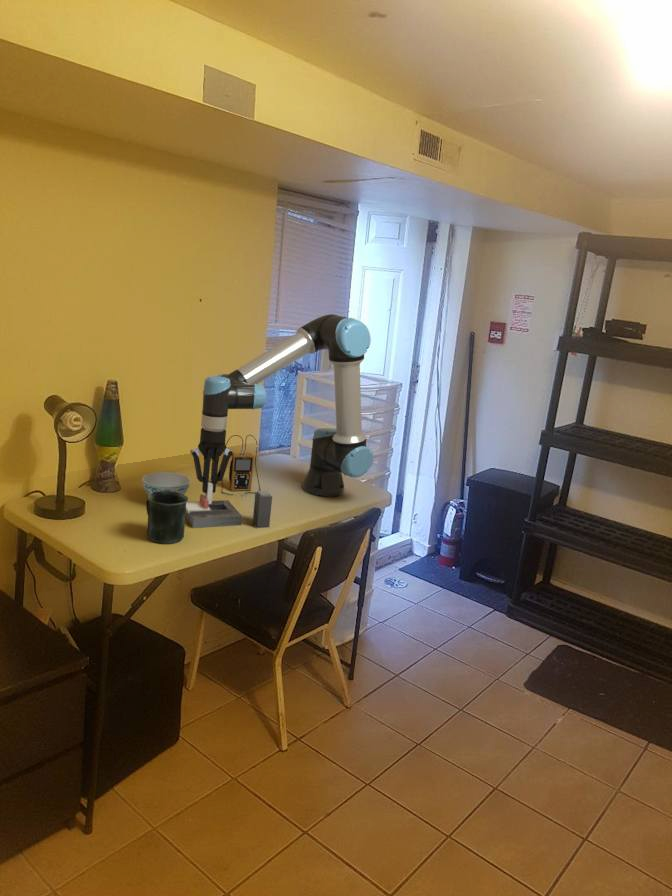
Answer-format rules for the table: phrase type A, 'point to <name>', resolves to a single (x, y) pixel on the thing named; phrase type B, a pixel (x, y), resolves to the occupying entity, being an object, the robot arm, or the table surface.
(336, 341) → the robot arm
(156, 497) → the mug
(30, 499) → the table surface
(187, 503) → the shutter
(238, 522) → the socket plate
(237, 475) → the multimeter
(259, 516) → the gray rectangular block
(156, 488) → the chinaware
